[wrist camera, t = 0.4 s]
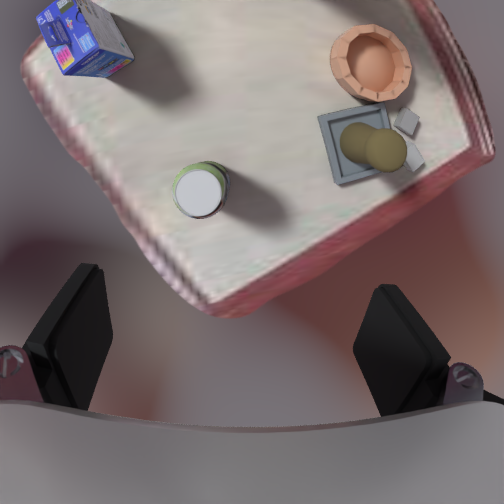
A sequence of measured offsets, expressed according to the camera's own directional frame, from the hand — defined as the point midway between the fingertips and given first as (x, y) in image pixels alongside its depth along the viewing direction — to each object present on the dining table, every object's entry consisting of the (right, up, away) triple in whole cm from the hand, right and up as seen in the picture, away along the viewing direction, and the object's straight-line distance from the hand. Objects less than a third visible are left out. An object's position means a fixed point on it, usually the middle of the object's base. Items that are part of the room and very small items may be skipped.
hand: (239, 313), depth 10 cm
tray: (+16, +18, +31) cm, 39 cm away
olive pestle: (+16, +18, +31) cm, 38 cm away
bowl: (+16, +28, +26) cm, 42 cm away
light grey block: (+24, +17, +32) cm, 44 cm away
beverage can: (-6, +13, +32) cm, 35 cm away
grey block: (+23, +22, +30) cm, 44 cm away
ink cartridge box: (-20, +31, +22) cm, 43 cm away
